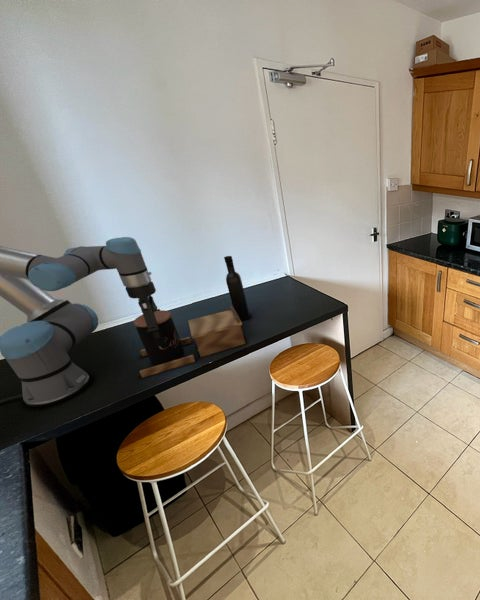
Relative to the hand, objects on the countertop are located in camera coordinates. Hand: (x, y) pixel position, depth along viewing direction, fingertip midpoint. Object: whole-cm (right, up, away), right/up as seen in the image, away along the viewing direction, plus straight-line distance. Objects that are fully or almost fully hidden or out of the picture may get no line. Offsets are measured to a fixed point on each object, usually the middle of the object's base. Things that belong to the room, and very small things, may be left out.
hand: (160, 336), depth 115 cm
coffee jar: (0, -9, +4) cm, 10 cm away
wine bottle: (+14, +5, +32) cm, 36 cm away
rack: (+7, -6, +9) cm, 13 cm away
